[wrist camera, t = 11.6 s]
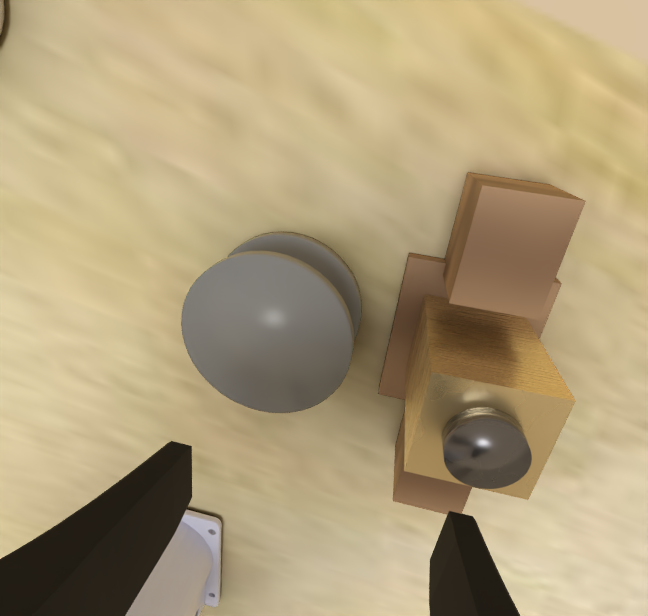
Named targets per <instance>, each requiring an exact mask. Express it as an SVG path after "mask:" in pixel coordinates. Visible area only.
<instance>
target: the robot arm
mask: <svg viewBox="0 0 648 616" xmlns="http://www.w3.org/2000/svg"><path fill="white" fill-rule="evenodd" d="M191 498H192V446H189V445H185V444H181V443H177V442H173V441H171V442H169V443H168V444H166V445H165V446H164V447H162V448H161V449H160V450H159V451H157V452H156V453H155V454H154V455H152V456H151V457H150V458H149V459H147V460H146V461H145V462H143V463H142V464H141V465H140V466H138V467H137V468H136V469H134V470H133V471H132V472H131V473H129V474H128V475H127V476H125V477H124V478H123V479H121V480H120V481H119V482H117V483H116V484H115V485H113V486H112V487H111V488H109V489H108V490H106V491H105V492H104V493H102V494H101V495H100V496H98V497H97V498H96V499H94V500H93V501H91V502H90V503H88V504H87V505H85V506H84V507H83V508H81V509H80V510H78V511H77V512H75V513H74V514H72V515H71V516H69V517H68V518H66V519H65V520H63V521H62V522H60V523H59V524H57V525H56V526H54V527H53V528H51V529H50V530H48V531H47V532H45V533H43V534H42V535H40V536H39V537H37V538H35V539H34V540H32V541H30V542H29V543H27V544H25V545H24V546H22V547H20V548H19V549H17V550H15V551H14V552H12V553H10V554H8V555H7V556H5V557H3V558H1V559H0V616H200V614H201V611H202V609H203V607H204V605H208V606H211V607H217V606H218V604H219V602H220V580H221V529H222V524H221V521H220V520H219V519H218V518H216V517H213V516H209V515H205V514H202V513H198V512H194V511H190V510H186V509H187V507H188V504H189V502H190V500H191ZM429 606H430V616H520V614H519V612H518V610H517V608H516V606H515V604H514V602H513V601H512V599H511V597H510V595H509V593H508V591H507V589H506V587H505V585H504V582H503V580H502V578H501V576H500V574H499V572H498V570H497V568H496V566H495V563H494V561H493V559H492V557H491V555H490V552H489V550H488V548H487V546H486V544H485V541H484V539H483V537H482V534H481V532H480V530H479V527H478V525H477V523H476V521H475V519H474V518H473V516H469V515H465V514H461V513H457V512H453V511H449V512H448V515H447V518H446V520H445V523H444V525H443V528H442V530H441V533H440V535H439V538H438V541H437V543H436V546H435V548H434V551H433V553H432V556H431V559H430V582H429Z"/></svg>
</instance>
